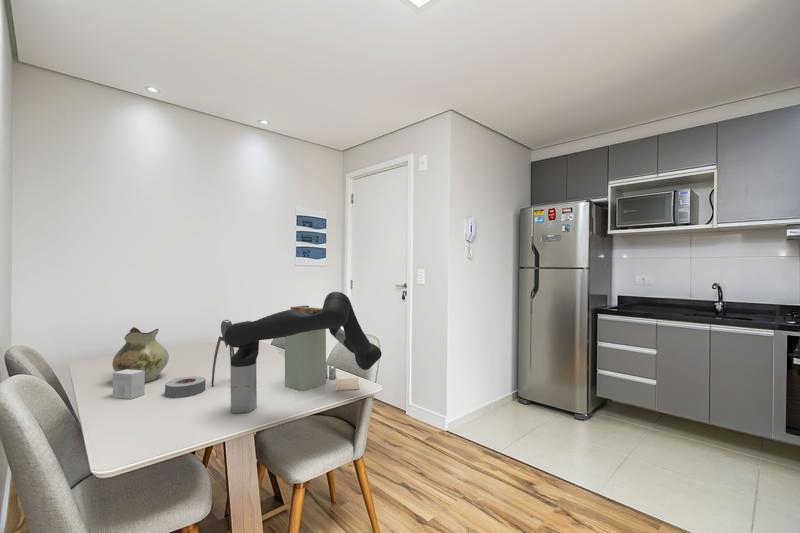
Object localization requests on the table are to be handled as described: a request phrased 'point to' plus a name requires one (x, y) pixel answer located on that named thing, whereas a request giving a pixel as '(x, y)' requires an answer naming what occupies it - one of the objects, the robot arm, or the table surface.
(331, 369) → the cylinder
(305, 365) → the tall sage green pillar
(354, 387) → the mat
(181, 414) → the table surface
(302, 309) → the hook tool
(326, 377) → the spacer
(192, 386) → the tape roll
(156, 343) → the green ceramic vase
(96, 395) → the table surface
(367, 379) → the table surface
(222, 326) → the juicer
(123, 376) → the skincare box
